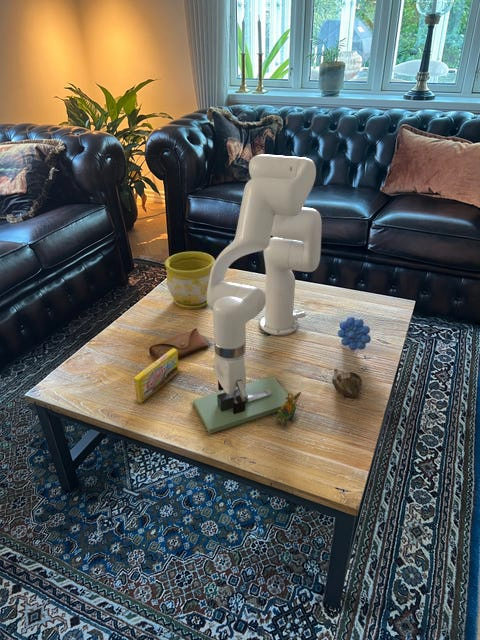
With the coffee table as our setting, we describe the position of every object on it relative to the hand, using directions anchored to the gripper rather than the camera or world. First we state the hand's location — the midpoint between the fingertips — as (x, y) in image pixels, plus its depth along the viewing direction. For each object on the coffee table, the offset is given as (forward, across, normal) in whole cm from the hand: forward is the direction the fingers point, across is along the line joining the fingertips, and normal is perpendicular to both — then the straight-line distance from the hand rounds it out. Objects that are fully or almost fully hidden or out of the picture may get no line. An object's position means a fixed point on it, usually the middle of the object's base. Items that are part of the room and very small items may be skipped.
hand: (231, 400), depth 115 cm
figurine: (+3, +10, +12) cm, 16 cm away
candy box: (+3, -17, -15) cm, 23 cm away
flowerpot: (+3, -60, +10) cm, 61 cm away
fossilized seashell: (+3, +6, +32) cm, 33 cm away
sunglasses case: (+3, -31, -4) cm, 31 cm away
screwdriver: (+1, 0, +4) cm, 4 cm away
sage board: (+3, 0, +4) cm, 5 cm away
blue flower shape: (+3, -9, +46) cm, 47 cm away
